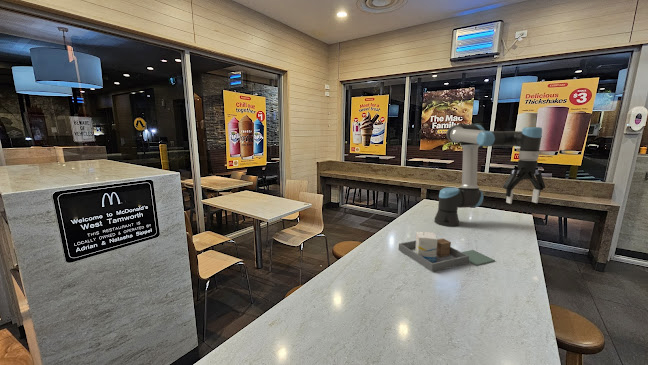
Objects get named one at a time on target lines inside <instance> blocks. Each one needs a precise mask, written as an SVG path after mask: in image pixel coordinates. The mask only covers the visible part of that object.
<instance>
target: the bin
mask: <svg viewBox="0 0 648 365" xmlns="http://www.w3.org/2000/svg"><path fill="white" fill-rule="evenodd" d="M415 248H416V240H412V241H406V242H400V243H398V251H400V252H401V253H402V254H404V255H405V256H407V257H408V258H410V259H412V260H413V261H415V262H416V263H418V264H419V265H421V266H423V267H424V268H425V269H426V270H428V271H430V272H432V273H433V272H437V271H441V270H445V269H450V268H453V267H458V266H461V265H467V264H469V263H470V262H469V256H468V255H466V254H464V253H462V252H463V251H459V250H458V249H455V248H454V247H451V246H450V255H451V256H453V257H454V258H451V259H445V260H441V261H436V262H430V261H428V260H426V259H425V258H423V257H422V256H420V255H418V254H417V253H415V251H414V250H412V249H415ZM450 255H449V256H450Z"/></svg>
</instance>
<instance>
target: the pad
mask: <svg viewBox="0 0 648 365" xmlns="http://www.w3.org/2000/svg"><path fill="white" fill-rule="evenodd" d="M461 252H462V253H464V254H466V255H468V256H469V262H468V263H470V264H472V265H474V266H476V267H477V266H480V265H485V264H489V263H494V262H496V259H493V258H492V257H489V256H487V255H485V254H482V253H480V252H478V251H477V250H475V249H471V250H465V251H461Z"/></svg>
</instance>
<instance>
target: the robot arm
mask: <svg viewBox="0 0 648 365" xmlns="http://www.w3.org/2000/svg"><path fill="white" fill-rule="evenodd" d="M542 137H543V128H542V127H540V126H539V127H537V126H536V127H535V126H530V127H529V126H527V127H525V126H524V127H523V128H522V130H521V131H520V130H518V131H517V130H516V131H515V130H510V131H509V130H508V131H507V130H506V131H505V130H502V131H501V130H500V131H499V130H498V131H497V130H494V131H493V130H485V128H484V127H483V125H481V124H454V125H452V126H450V127H449V128H448V129H447V131H446V138H447V140H448V141H449V142H451V143H457V144H460V147H461V148H462V168H461V169H462V171H461V172H462V173H461V174H462V175H461V185H460V186H459V188H457V187H444V188H442V189H440V190H439V194H438V206H437V207H438V208H437V212H436V214H435V216H434V219H433V220H434V223H435V224H437V225H440V226H444V227H459V225H460V219H459V215H458V208H464V209H466V208H471V209H472V208H478V207H480V206H481V205H482V204H483V201H484V194H483V191H482V190H480V187H479V186H478V163H479V161H478V159H479V158H478V155H479V154H478V153H479V148H480V147H517V148H518V147H519V153H518V161H517V168H518V169H511V171H510V174H509V176H508V177H507V179H506V180H505V182H504V184H503V185H502V189H505V190H506V192H505V196H506V199H505V200H506V201H505V203H507V204H509V205H512V203H513V197H514V196H513V195H514V188H515V187H516V186H517V185H518V184H519V183H520V182H521V181H524V180H529V182H530V183H531V184H532V186H533V187H534V188H533V192H532V196H531V197H532V198H531V203H535V204H538V203H539V198H540V196H541V191H543V190H544V189H545V188H546V185H545V181H544V179H543V178H544V177H543V174H542V173H543V172H542V170H541V169H537V168H538V160H539V155H540V154H539V153H540V150H541V141H542Z"/></svg>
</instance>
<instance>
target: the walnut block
mask: <svg viewBox="0 0 648 365" xmlns="http://www.w3.org/2000/svg"><path fill="white" fill-rule="evenodd" d="M451 246H452V242H451V241H449V240H448V239H445V238H439V239H438V238H437V251H436V257H438V258H444V257H447V256H450V247H451Z"/></svg>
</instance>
